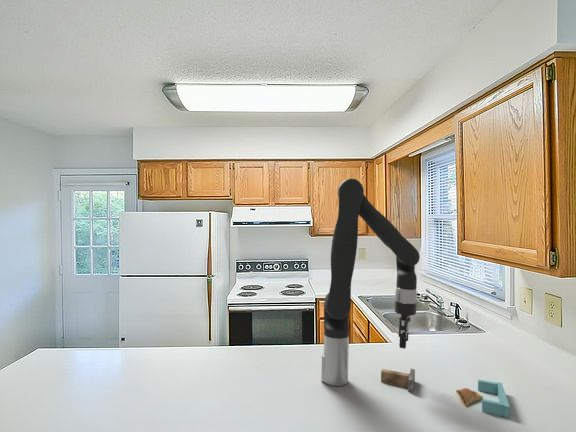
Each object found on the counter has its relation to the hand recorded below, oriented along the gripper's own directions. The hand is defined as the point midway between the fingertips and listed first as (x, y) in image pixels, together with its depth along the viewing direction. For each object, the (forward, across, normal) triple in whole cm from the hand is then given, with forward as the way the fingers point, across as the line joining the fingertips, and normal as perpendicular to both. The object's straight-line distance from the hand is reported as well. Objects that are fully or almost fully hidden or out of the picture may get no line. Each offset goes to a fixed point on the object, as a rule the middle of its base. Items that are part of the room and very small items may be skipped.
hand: (403, 344), depth 135 cm
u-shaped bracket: (+14, 0, +29) cm, 32 cm away
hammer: (+15, 0, -2) cm, 15 cm away
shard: (+15, +1, +23) cm, 27 cm away
